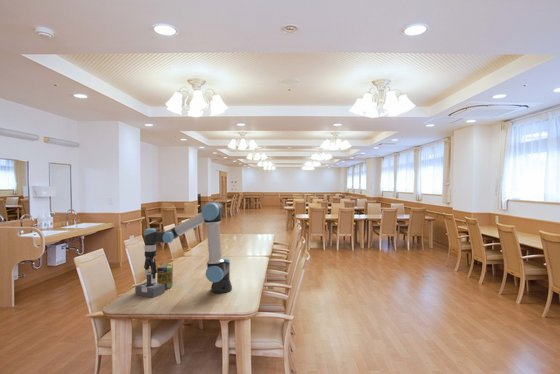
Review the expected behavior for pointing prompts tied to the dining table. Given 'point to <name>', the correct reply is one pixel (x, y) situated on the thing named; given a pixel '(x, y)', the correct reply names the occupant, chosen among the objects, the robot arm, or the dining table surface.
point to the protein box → (165, 274)
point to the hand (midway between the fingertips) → (150, 280)
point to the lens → (149, 279)
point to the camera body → (150, 290)
